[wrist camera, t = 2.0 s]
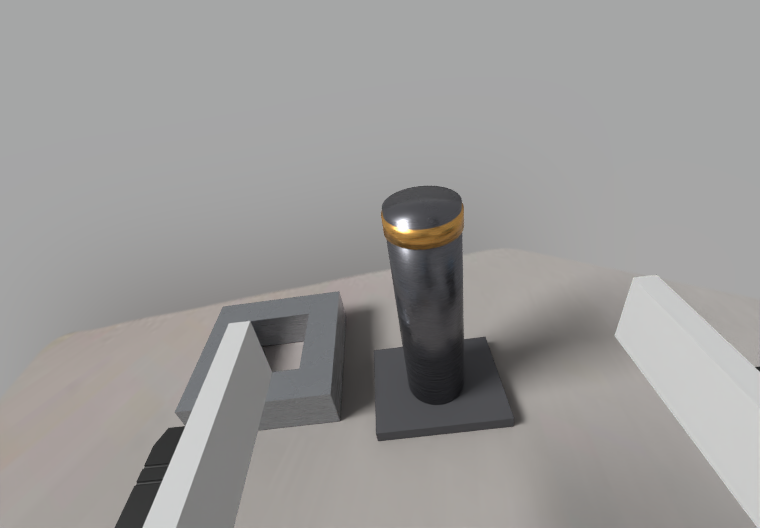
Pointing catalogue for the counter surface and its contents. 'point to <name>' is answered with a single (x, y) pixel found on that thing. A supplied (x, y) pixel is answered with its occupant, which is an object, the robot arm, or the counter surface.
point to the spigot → (428, 287)
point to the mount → (415, 418)
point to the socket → (291, 387)
